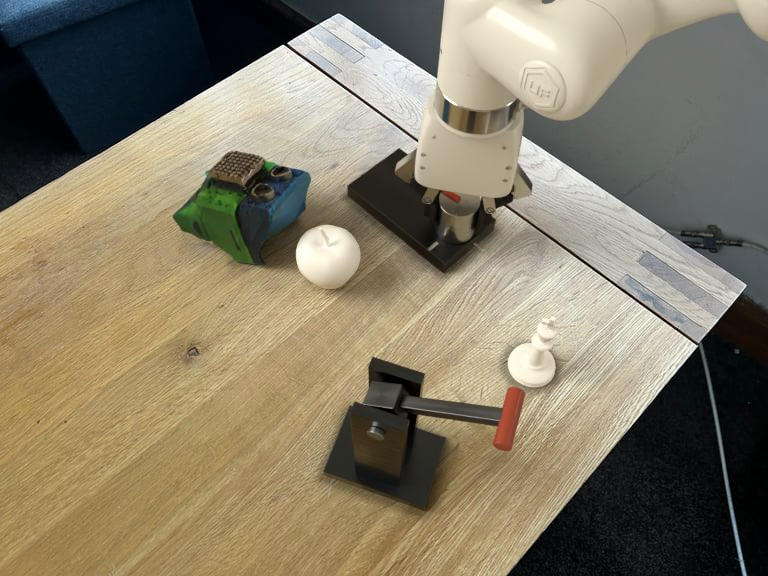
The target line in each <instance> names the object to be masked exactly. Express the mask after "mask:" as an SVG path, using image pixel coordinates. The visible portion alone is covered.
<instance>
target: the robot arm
mask: <svg viewBox="0 0 768 576" xmlns="http://www.w3.org/2000/svg"><path fill="white" fill-rule="evenodd" d="M443 3H444V4H443V14H442V23H441V35H440V43H439V44H440V46H439V54H438V66H437V76H436V85H435V88H434V89H433V90H432V91H430V93H429V95H428V97H427V99H426V103H425V106H424V109H423V113H422V117H421V122H420V128H419V129H420V130H419V133H418V135H419V136H418V140H417V146H416V148H415V149H414V150H412V151H411V152H410V153H407V154H408V155H407V156H406V157H404V158H403V159H402V160H400V161H399V162H398V163H397V165H396V169H395V174H396V175H397V176H398V177H400V178H401V179H402V180H404V181H405V182H408V183H410V186H411V187H412V188H413V189H414V190H415V191H416V192H417V193H418V194H420V195H421V196H422V201H423V202H424V203H425V207H424V216H427V217H429V224H428V228H433V227H435V222H436V216H437V208H438V200H439V195H440V190H444V191H450V192H457V193H463V194H470V195H476V196H479V197H480V200H481V204H480V209H479V214H478V219H477V224H476V230H475V234H477V236H481V233H482V229H483V226H489V225H490V220H491V216H492V215H493V214H495V213H496V211H497V209H499V208H502V207H504V206H506V205H509V204H512V202H514V200H520V199H523V198H527V197H530V196H531V195H532V194H533V187H534V186H533V185H534V183H533V182H532V180H531V179H530V177H529V176H528V175H527V173H526V172H525V171H524V169H523V168H522V167H521V165H520V164H519V157H520V153H521V146H522V140H523V134H524V124H525V114H524V113H525V112H524V110H526V109H529V110H532V111H534V112H535V113H537V114H538V115H540V116H542V117H545V118H547V119H550V120H554V121H560V122H562V121H563V122H565V121H570V120H571V121H572V120H575V119H577V118H580V117H581V116H583V115H585V114H586V113H587V112H589V111H590V110H591V109H592V108H593V107H594V106H595V105H596V103H597V102H598V101H599V100H600V99H601V98H602V96H603V95H604V94H605V93H606V92H607V91H608V89H609V88H610V87H611V86H612V85H613V83H614V82H615V81H616V80H617V78H618V77H619V76H620V75H621V73H622V72H623V71H624V69H625V68H626V67H627V66H628V65H629V64H630V63H631V62H632V60H633V59H634V58H635V57H636V55H637V54H638V53H639V52H640V50H641V49H643V47H644V46H645V45H646V44H647V43H650V41H653V40H654V39H657V38H659V37H661V36H664V35H666V34H668V33H669V34H670V33H671V32H674V31H676V30H679V29H682V28H685V27H688V26H690V25H693V24H696V23H699V22H702V21H705V20H708V19H711V18H716V17H721V16H725V15H726V16H727V15H735V14H736V15H737V14H738V15H739V14H740V16H741V18H742V20H743V21H744V23H745V25H746V26H747V27H748V28H749V30H751V31H752V33H754V35H755V36H756V37H757V38H759V39H760V40H762V41H763V42H766V43H768V0H553V1H552V2H548V3H544V2H543V0H444V1H443ZM492 217H493V216H492Z"/></svg>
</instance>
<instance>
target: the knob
mask: <svg viewBox="0 0 768 576" xmlns="http://www.w3.org/2000/svg"><path fill="white" fill-rule="evenodd" d="M480 204H481V196H476V195H470V194H463V193H457V192H450V191H444V190H442V192H441V193H440V195H439V200H438V208H437V216H436V224H435V230H436V233H437V235H438V236H439V237H440V238H441V239H442V240H443V241H445V242H447V243H451V244H462V243H465V242H467V241H469V240H470V239H471V238H472V237H473V235H474V233H475V228H476V224H477V219H478V214H479V209H480Z"/></svg>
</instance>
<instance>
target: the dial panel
mask: <svg viewBox="0 0 768 576" xmlns="http://www.w3.org/2000/svg"><path fill="white" fill-rule="evenodd" d="M408 154H409V153H407V152H406V151H404V150H403V149H402V148H399V147H398V148H397V149H395V150H394V151H393V152H391V153H390V154H388V156H386V157H384V158H383V159H382V160H380V161H379V162H378V163H376V164H375V165H373V166H372V167H371V168H369V169H368V170H367V171H365V172H363V173H362V174H361V175H360V176H359V177H357V178H356V179H354V180H352V181H351V182H350V183H349V184H347V186H346V189H347V190H346V191H347V197H348V198H349V199H350V200H352V201H353V202H354V203H355V204H356V205H358V206H359V207H360V208H361V209H362V210H364V211H365V212H366V213H367V214H369V215H370V216H372V217H373V218H374V219H375V220H376V221H377V222H379V223H380V224H382V226H384V227H385V228H386V229H387V230H389V231H390V232H391V233H392V234H394V235H395V236H396V237H398V239H400V240H401V241H403V242H404V243H405V244H406V245H407V246H408V247H409V248H411V249H412V250H414V251H415V252H416V253H417V254H419V255H420V256H421V257H422V258H423V259H425V260H426V261H427V262H428V263H429V264H431V265H432V266H433V267H434V268H436V269H437V270H438V271H440V272H441V273H442V274H444V273H445V272H446V271H448V270H449V269H450V268H451V267H453V266H454V265H455V264H457V262H458V261H460V260H461V259H462V258H463V257H464V256H465V255H467V254H468V253H469V252H470V251H471V250H472V249H473V248H475V247H476V248H477V249H479V250H480V251H481V252H484V251H486V248H484V247H483V246H482V245H481V244H479V243H480V242H481V241H483V240H484V239H485V238H486V237H487V236H489V235H490V234H491V233H492V232H493V231H494V230H495V228H496V223H497V219H496V218H495V217H494V216H491V220H490V225H489V226H483V229H482V233H481V236H477V234H475V233H474V235H473V237H472V238H471V239H470V240H469V241H467V242H465V243H462V244H451V243H447V242H445V241H443V240H442V239H441V238H440V237H439V236H438V235H437V233H436V230H435V227H433V228H428V224H429V217H427V216H424V207H425V203H424V202H423V201H422V196H421V195H420V194H418V193H417V192H416V191H415V190H414V189H413V188H412V187H411V186H410V183H408V182H405V181H404V180H402V179H401V178H400V177H398V176H397V175H396V174H395V169H396V165H397V163H398V162H399V161H400V160H402V159H403V158H404V157H406V156H407V155H408ZM441 192H442V190H440V193H441ZM435 224H436V222H435ZM475 230H476V228H475Z"/></svg>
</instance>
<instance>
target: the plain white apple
mask: <svg viewBox="0 0 768 576" xmlns="http://www.w3.org/2000/svg"><path fill="white" fill-rule="evenodd" d="M360 248H361V247H360V245H359V243H358V241H357V240H356V238H355V237H354V236H353V234H352V233H351V232H350V231H349V230H347V229H345V228H343V227H340V226H336V225H332V224H321V225H318V226H315V227H312V228H310V229H308V230H306V231H305V232H304V233H303V234H302V235H301V237H300V238H299V240H298V243H297V244H296V249H295V259H296V264H297V268H298V270H299V272H300V273H301V275H302V276H303V277H304V278H306V280H308V281H309V282H311V283H312V284H314V285H315V286H316V287H319V288H322V289H324V290H335V289H339V288H341V287H342V286H344V285H345V284H346V283H347V282H348V281H349V280H350V279H351V278H352V277H353V276H354V275H355V274H356V272H357V270H358V269H359V266H360V262H361V249H360Z"/></svg>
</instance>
